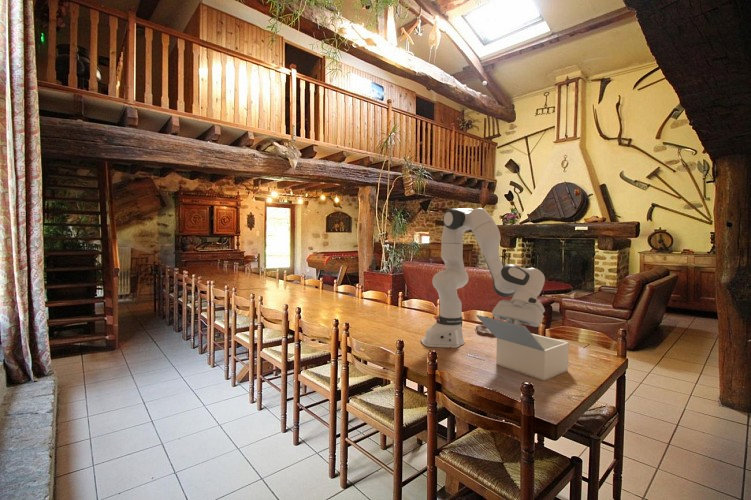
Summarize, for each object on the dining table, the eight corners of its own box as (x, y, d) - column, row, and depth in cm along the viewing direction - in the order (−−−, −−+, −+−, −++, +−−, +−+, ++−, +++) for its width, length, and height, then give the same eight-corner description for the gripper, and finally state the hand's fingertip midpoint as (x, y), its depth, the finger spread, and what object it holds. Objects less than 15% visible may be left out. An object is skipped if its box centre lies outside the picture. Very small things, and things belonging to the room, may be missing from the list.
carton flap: (476, 314, 149) (476, 315, 148) (525, 326, 131) (524, 327, 131) (496, 336, 157) (496, 337, 157) (544, 350, 139) (544, 351, 139)
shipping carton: (520, 355, 168) (521, 330, 168) (568, 370, 150) (568, 342, 150) (496, 364, 158) (496, 337, 157) (544, 381, 140) (544, 351, 139)
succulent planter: (513, 339, 197) (514, 318, 196) (477, 336, 201) (477, 317, 200) (508, 329, 216) (508, 311, 216) (475, 327, 220) (475, 309, 220)
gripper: (497, 294, 155) (483, 320, 150) (543, 301, 139) (529, 330, 133) (503, 303, 158) (490, 329, 153) (549, 311, 141) (535, 340, 136)
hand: (508, 329), depth 143 cm, fingers closed, pressing on carton flap
